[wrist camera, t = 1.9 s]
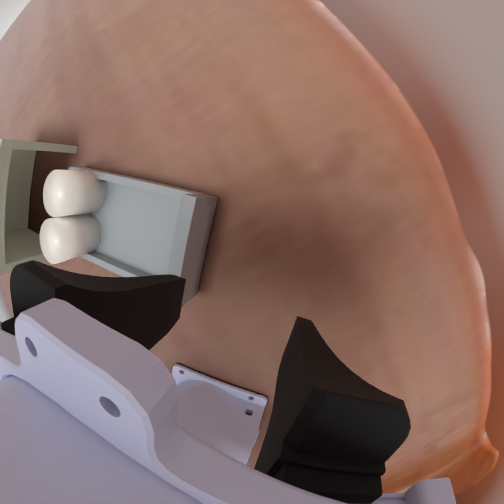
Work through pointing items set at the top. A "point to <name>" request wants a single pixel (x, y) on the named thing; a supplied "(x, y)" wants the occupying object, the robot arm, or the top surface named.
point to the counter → (19, 200)
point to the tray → (126, 224)
